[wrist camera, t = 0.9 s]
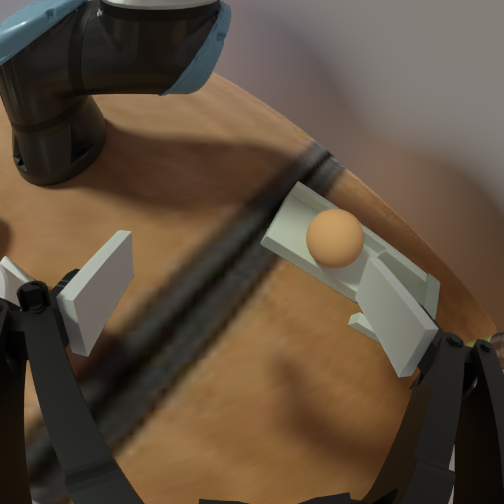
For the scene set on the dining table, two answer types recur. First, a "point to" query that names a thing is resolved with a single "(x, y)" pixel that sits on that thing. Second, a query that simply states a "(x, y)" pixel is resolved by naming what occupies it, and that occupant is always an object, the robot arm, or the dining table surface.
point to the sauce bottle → (494, 345)
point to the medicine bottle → (11, 282)
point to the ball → (335, 238)
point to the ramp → (346, 278)
